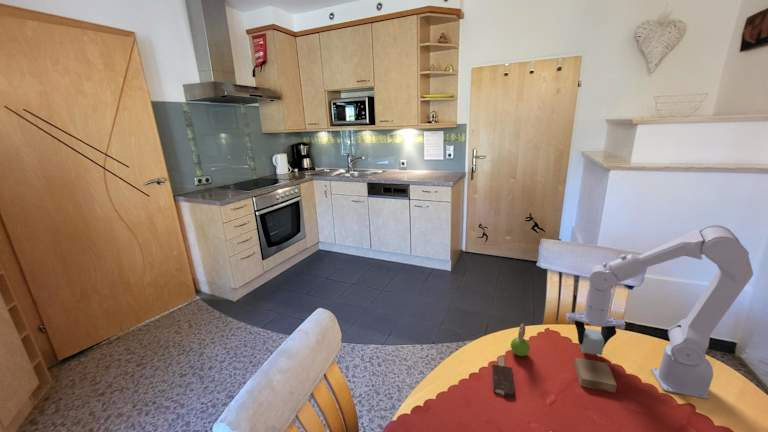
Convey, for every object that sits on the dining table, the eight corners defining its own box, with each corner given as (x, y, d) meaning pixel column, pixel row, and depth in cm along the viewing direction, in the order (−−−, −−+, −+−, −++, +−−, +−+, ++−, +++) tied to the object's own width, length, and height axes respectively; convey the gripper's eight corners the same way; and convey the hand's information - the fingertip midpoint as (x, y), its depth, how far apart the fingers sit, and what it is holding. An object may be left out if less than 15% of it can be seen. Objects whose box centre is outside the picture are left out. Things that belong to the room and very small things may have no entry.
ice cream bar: (491, 357, 99) (493, 396, 85) (491, 352, 99) (494, 391, 85) (509, 359, 98) (514, 400, 84) (509, 355, 97) (515, 395, 84)
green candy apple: (508, 359, 97) (511, 325, 94) (511, 345, 103) (514, 313, 99) (527, 364, 95) (531, 330, 91) (529, 350, 100) (533, 318, 97)
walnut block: (605, 371, 92) (607, 363, 91) (614, 393, 85) (616, 384, 84) (574, 365, 94) (575, 357, 93) (580, 387, 87) (581, 378, 86)
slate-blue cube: (597, 344, 99) (599, 330, 97) (601, 355, 94) (604, 341, 93) (578, 341, 100) (580, 327, 99) (582, 352, 96) (584, 338, 94)
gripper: (622, 301, 94) (614, 339, 98) (566, 294, 99) (561, 331, 103) (631, 314, 88) (622, 355, 92) (571, 307, 92) (565, 346, 96)
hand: (590, 344), depth 97 cm, fingers closed on slate-blue cube, 5 cm apart
